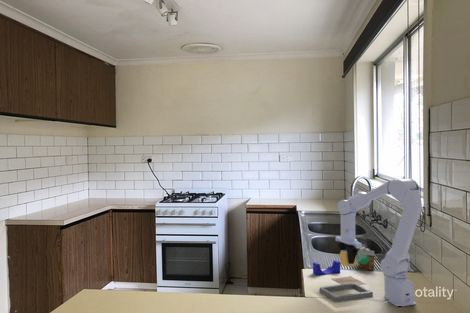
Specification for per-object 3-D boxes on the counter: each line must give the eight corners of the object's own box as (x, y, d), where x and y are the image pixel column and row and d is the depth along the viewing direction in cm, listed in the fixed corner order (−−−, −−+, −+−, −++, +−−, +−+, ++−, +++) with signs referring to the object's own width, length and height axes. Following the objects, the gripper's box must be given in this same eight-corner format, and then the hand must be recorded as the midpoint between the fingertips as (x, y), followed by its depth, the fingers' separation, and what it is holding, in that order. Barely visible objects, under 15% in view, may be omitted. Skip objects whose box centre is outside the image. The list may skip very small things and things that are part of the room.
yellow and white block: (356, 265, 138) (356, 251, 138) (345, 266, 136) (345, 252, 136) (350, 262, 141) (350, 249, 141) (340, 263, 139) (340, 250, 139)
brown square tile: (366, 286, 135) (366, 284, 135) (345, 289, 132) (345, 286, 132) (350, 278, 145) (350, 276, 145) (330, 281, 142) (330, 278, 142)
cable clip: (334, 272, 154) (334, 259, 154) (340, 275, 149) (340, 262, 150) (311, 275, 150) (311, 261, 150) (316, 278, 146) (316, 264, 146)
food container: (352, 265, 165) (352, 244, 165) (365, 265, 164) (365, 244, 165) (361, 273, 152) (361, 250, 153) (374, 273, 152) (374, 251, 152)
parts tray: (372, 298, 123) (372, 292, 123) (335, 304, 118) (335, 297, 118) (354, 289, 132) (354, 282, 132) (319, 294, 127) (319, 287, 127)
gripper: (368, 231, 133) (368, 266, 133) (345, 225, 147) (345, 256, 147) (353, 232, 131) (353, 267, 131) (331, 226, 145) (331, 258, 144)
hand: (348, 262), depth 138 cm, fingers closed on yellow and white block, 3 cm apart
